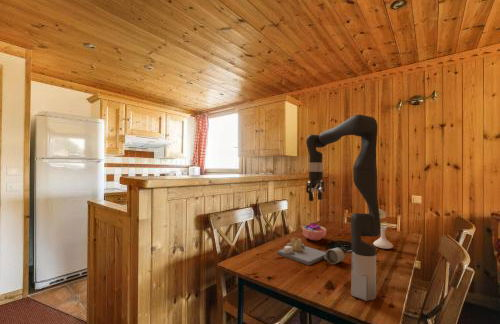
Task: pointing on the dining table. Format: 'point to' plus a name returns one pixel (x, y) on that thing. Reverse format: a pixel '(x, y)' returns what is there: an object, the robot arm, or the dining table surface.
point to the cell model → (314, 231)
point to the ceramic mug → (334, 255)
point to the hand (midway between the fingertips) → (315, 200)
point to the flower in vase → (383, 234)
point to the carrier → (302, 254)
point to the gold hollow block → (296, 244)
